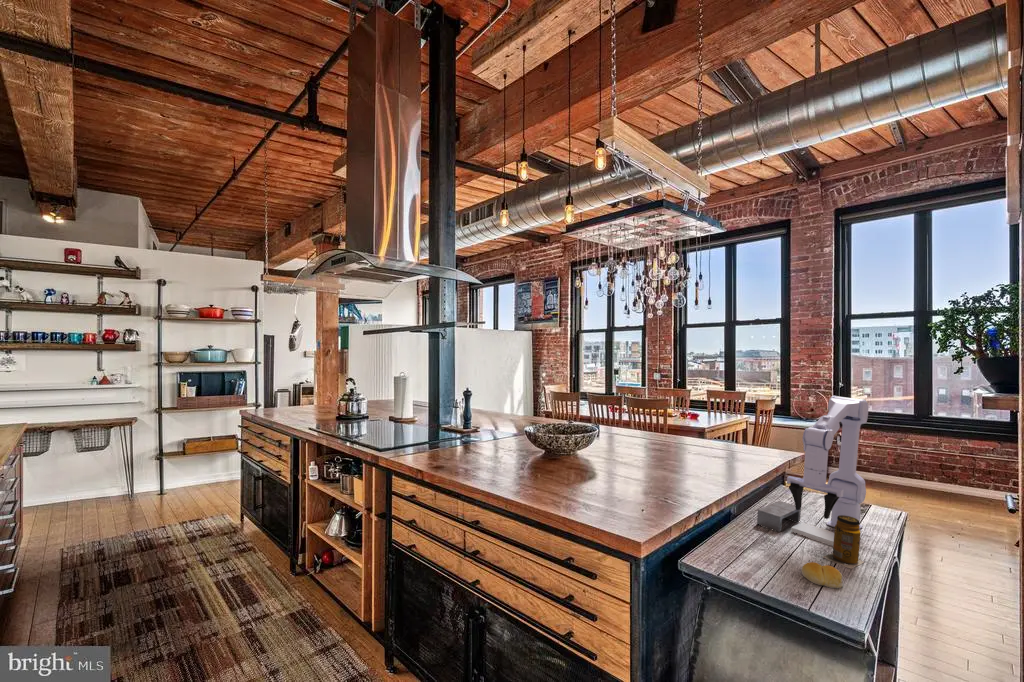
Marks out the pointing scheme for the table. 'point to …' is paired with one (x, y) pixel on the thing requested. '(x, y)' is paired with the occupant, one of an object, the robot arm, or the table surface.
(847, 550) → the condiment
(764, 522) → the grey c-shaped bracket
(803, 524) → the tile
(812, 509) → the table surface
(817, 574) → the bread roll
